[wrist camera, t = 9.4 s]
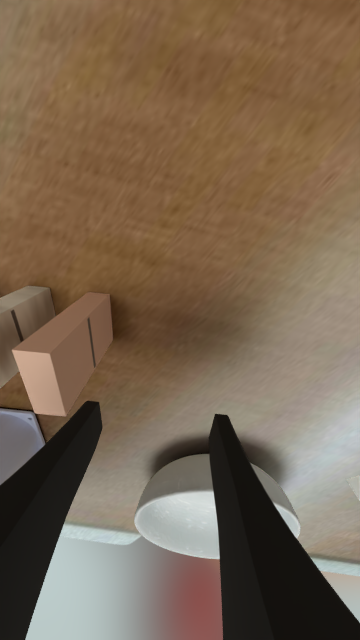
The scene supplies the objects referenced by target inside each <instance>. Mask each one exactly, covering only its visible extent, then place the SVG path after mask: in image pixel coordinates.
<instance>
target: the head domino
mask: <svg viewBox="0 0 360 640" xmlns="http://www.w3.org/2000/svg"><path fill="white" fill-rule="evenodd" d="M112 341H113V330H112V317H111V304H110V294H103V293H93V292H87V293H86V294H85V295H84V296H82V297H81V298H80V299H78V300H77V301H76V302H74V303H73V304H72V305H70V306H69V307H68V308H66V309H65V310H64V311H62V312H61V313H60V314H58V315H57V316H56V317H54V318H53V319H52V320H51V321H49V322H48V323H47V324H45V325H44V326H43V327H41V328H40V329H39V330H37V331H36V332H35V333H33V334H32V335H31V336H29V337H28V338H27V339H25V340H24V341H23V342H21V343H20V344H19V345H18V346H16V347H15V348H14V349H12V352H13V355H14V358H15V360H16V363H17V366H18V368H19V371H20V374H21V377H22V379H23V382H24V385H25V388H26V390H27V393H28V396H29V399H30V401H31V404H32V407H33V410H34V412H35V413H36V414H46V415H56V416H67V414H68V413H69V411H70V409H71V408H72V406H73V404H74V403H75V401H76V399H77V398H78V396H79V395H80V393H81V391H82V390H83V388H84V386H85V385H86V383H87V382H88V380H89V378H90V377H91V375H92V373H93V372H94V370H95V368H96V367H97V365H98V364H99V362H100V360H101V359H102V357H103V355H104V354H105V352H106V351H107V349H108V347H109V346H110V344H111V342H112Z"/></svg>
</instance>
